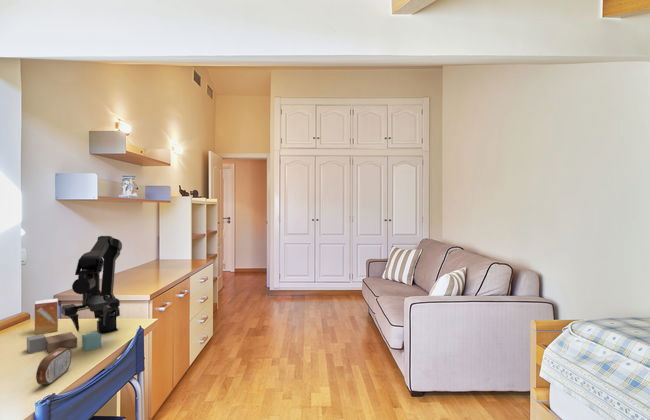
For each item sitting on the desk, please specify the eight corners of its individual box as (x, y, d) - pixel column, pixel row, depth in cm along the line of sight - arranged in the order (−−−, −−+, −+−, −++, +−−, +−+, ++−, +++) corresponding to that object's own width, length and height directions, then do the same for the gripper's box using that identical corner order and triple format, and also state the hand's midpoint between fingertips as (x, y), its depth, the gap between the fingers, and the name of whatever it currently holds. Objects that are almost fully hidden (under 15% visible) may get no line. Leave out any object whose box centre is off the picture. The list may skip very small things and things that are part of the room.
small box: (34, 335, 164) (34, 304, 164) (35, 330, 170) (35, 300, 169) (58, 331, 169) (57, 301, 168) (58, 327, 174) (57, 298, 174)
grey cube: (42, 346, 152) (42, 333, 152) (46, 350, 148) (45, 337, 148) (26, 350, 148) (26, 337, 148) (29, 354, 145) (29, 340, 145)
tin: (63, 368, 133) (63, 343, 133) (73, 368, 133) (73, 343, 133) (34, 390, 118) (34, 362, 118) (46, 389, 118) (45, 362, 118)
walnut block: (71, 341, 158) (71, 331, 158) (77, 348, 152) (77, 337, 151) (44, 347, 152) (44, 337, 151) (49, 354, 145) (48, 343, 145)
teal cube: (96, 344, 155) (96, 331, 155) (101, 347, 151) (101, 334, 151) (82, 347, 151) (82, 334, 151) (86, 351, 148) (86, 338, 148)
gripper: (69, 296, 138) (69, 339, 139) (125, 287, 152) (125, 327, 153) (60, 290, 146) (60, 332, 146) (114, 282, 160) (114, 320, 160)
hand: (91, 328), depth 151 cm, fingers open, 9 cm apart
